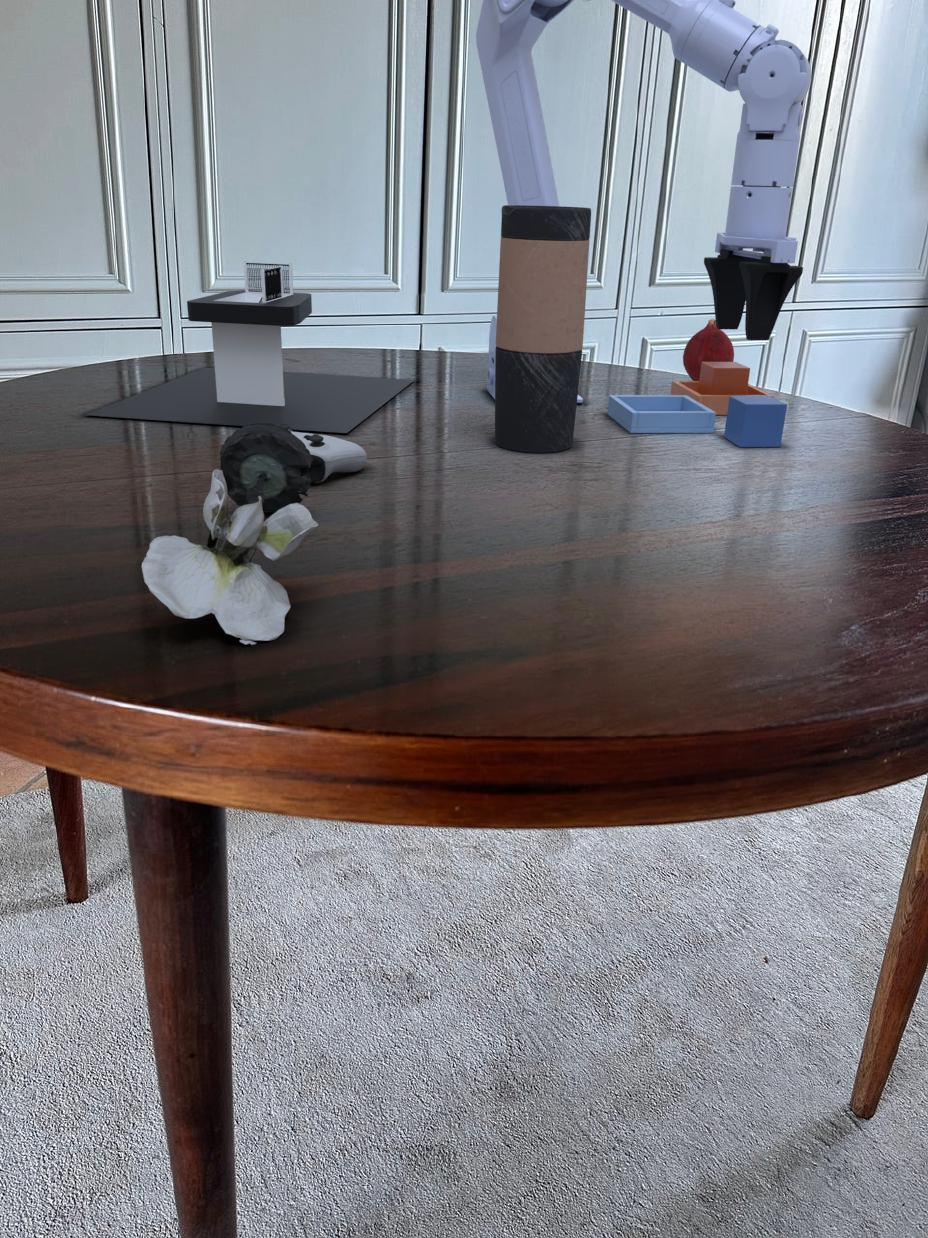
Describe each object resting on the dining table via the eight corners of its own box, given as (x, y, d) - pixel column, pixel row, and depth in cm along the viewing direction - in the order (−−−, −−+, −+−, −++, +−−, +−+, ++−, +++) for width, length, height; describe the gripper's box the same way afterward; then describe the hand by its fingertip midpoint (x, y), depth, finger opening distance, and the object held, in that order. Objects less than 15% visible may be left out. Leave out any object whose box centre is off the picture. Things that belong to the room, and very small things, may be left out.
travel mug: (586, 439, 92) (604, 207, 84) (558, 458, 86) (575, 208, 78) (510, 429, 95) (521, 204, 87) (478, 446, 89) (486, 205, 81)
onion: (734, 394, 115) (744, 323, 112) (684, 392, 115) (693, 321, 112) (723, 385, 120) (732, 316, 117) (675, 383, 120) (683, 315, 117)
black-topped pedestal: (346, 434, 92) (343, 282, 86) (84, 416, 96) (65, 270, 90) (414, 381, 117) (415, 261, 111) (204, 368, 121) (195, 252, 115)
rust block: (709, 405, 106) (714, 367, 104) (696, 398, 110) (701, 361, 108) (745, 405, 107) (750, 368, 105) (731, 398, 110) (736, 361, 109)
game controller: (373, 455, 81) (350, 414, 76) (354, 513, 79) (329, 475, 74) (269, 443, 84) (239, 402, 78) (248, 498, 82) (217, 460, 77)
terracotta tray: (696, 414, 104) (698, 395, 103) (670, 398, 111) (672, 380, 111) (771, 414, 105) (774, 395, 104) (741, 398, 113) (743, 380, 112)
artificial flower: (336, 528, 71) (370, 399, 66) (261, 714, 52) (302, 551, 46) (214, 491, 70) (239, 358, 65) (91, 666, 51) (114, 495, 46)
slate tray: (630, 433, 95) (632, 412, 95) (607, 414, 103) (608, 394, 102) (713, 432, 97) (716, 412, 96) (684, 414, 104) (686, 395, 103)
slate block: (739, 447, 91) (745, 404, 90) (723, 437, 95) (729, 395, 93) (780, 447, 92) (787, 404, 90) (763, 436, 95) (769, 395, 94)
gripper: (837, 188, 88) (812, 345, 94) (768, 187, 101) (749, 324, 107) (763, 186, 87) (741, 344, 93) (703, 185, 100) (687, 324, 106)
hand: (741, 334), depth 100 cm, fingers open, 7 cm apart
